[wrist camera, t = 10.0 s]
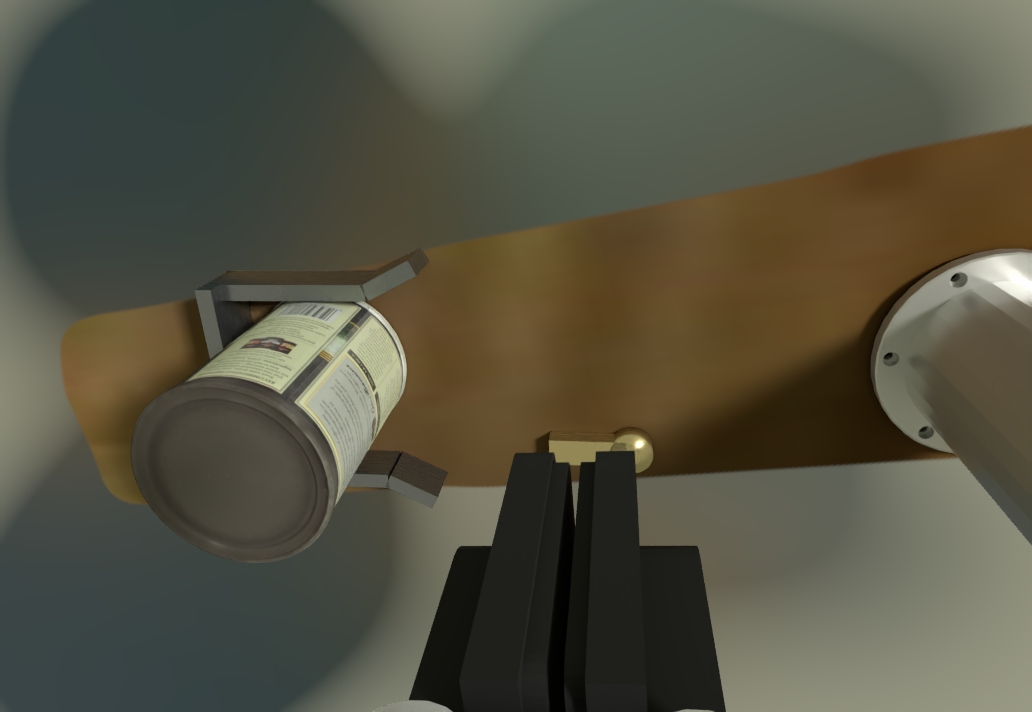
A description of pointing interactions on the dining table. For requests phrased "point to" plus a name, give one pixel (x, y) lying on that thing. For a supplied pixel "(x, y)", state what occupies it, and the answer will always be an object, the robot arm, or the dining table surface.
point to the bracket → (233, 290)
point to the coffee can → (270, 429)
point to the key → (601, 446)
